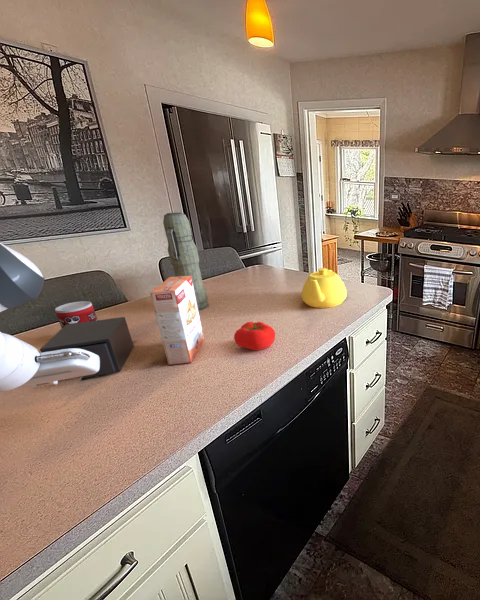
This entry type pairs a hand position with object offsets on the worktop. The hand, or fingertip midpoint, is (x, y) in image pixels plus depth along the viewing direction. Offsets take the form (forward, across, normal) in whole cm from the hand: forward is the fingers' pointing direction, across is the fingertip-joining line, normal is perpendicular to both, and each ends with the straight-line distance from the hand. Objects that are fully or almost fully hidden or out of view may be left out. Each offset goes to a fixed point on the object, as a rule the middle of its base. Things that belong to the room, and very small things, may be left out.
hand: (48, 382), depth 65 cm
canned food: (+35, +8, -23) cm, 43 cm away
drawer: (+18, 0, -8) cm, 20 cm away
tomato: (+17, -39, -5) cm, 43 cm away
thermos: (+46, -20, -34) cm, 61 cm away
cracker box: (+20, -21, -8) cm, 30 cm away
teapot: (+36, -66, -24) cm, 79 cm away
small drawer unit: (+22, 0, -10) cm, 24 cm away
